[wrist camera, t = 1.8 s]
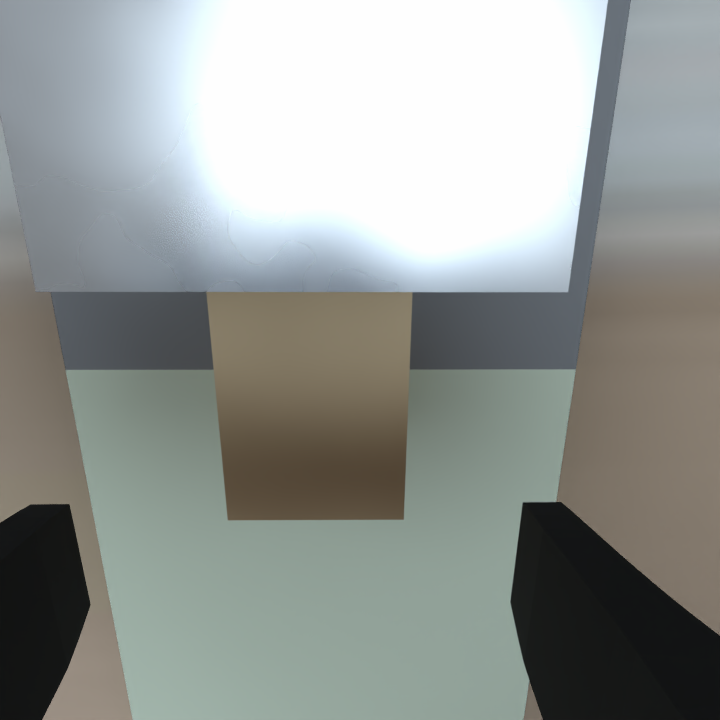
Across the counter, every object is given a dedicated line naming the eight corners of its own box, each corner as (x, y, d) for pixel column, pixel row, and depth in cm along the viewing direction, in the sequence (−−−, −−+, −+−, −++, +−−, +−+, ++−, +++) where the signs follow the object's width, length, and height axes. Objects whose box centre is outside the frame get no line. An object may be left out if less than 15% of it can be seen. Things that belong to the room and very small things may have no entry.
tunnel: (498, 231, 16) (567, 292, 11) (139, 230, 16) (35, 291, 10) (524, -71, 13) (632, -181, 8) (99, -75, 13) (-62, -188, 8)
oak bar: (393, 433, 18) (403, 519, 14) (253, 434, 18) (227, 520, 14) (412, -243, 12) (439, -396, 8) (206, -245, 12) (141, -400, 8)
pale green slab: (507, 724, 25) (517, 761, 23) (153, 727, 24) (141, 765, 23) (730, -906, 10) (789, -1065, 9) (-138, -930, 10) (-216, -1095, 9)
